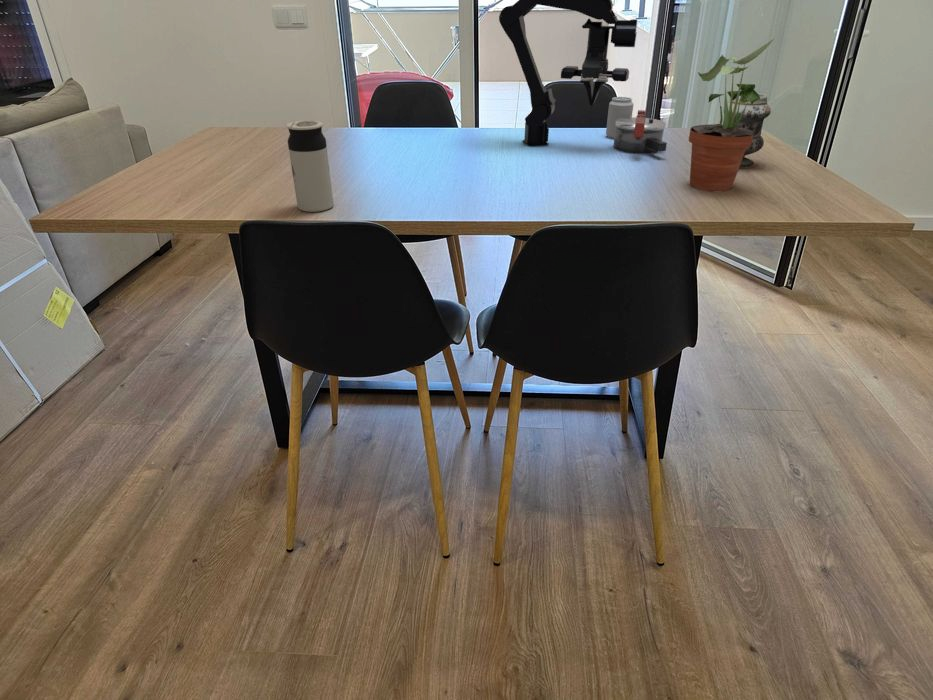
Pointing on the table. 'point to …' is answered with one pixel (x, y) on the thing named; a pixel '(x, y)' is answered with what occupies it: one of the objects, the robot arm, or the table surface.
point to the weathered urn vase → (752, 123)
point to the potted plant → (722, 133)
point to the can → (618, 113)
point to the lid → (640, 124)
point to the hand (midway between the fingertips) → (591, 105)
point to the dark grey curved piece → (639, 142)
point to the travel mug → (310, 166)
